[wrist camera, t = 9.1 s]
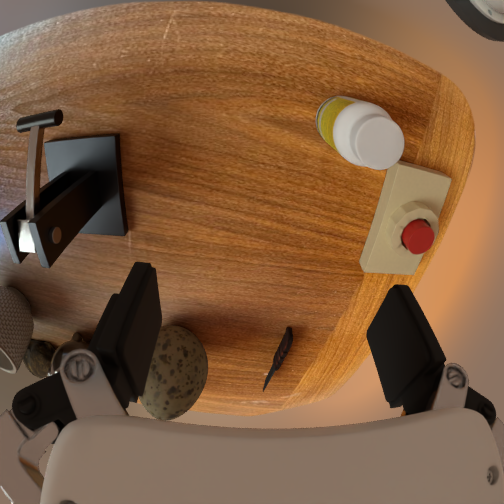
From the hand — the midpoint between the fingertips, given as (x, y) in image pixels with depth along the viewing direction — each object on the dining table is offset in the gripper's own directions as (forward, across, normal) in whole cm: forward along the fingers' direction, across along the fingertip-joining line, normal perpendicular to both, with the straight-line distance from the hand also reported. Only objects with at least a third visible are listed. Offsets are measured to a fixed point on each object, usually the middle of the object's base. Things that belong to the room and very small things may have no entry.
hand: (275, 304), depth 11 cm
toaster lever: (+12, +20, 0) cm, 23 cm away
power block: (+20, -18, +4) cm, 28 cm away
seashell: (+20, +44, +44) cm, 65 cm away
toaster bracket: (+20, +20, +4) cm, 29 cm away
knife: (+20, -7, +33) cm, 39 cm away
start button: (+17, -18, +4) cm, 25 cm away
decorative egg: (+20, +9, +28) cm, 36 cm away
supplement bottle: (+21, -8, -5) cm, 23 cm away
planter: (+20, +43, +28) cm, 55 cm away
